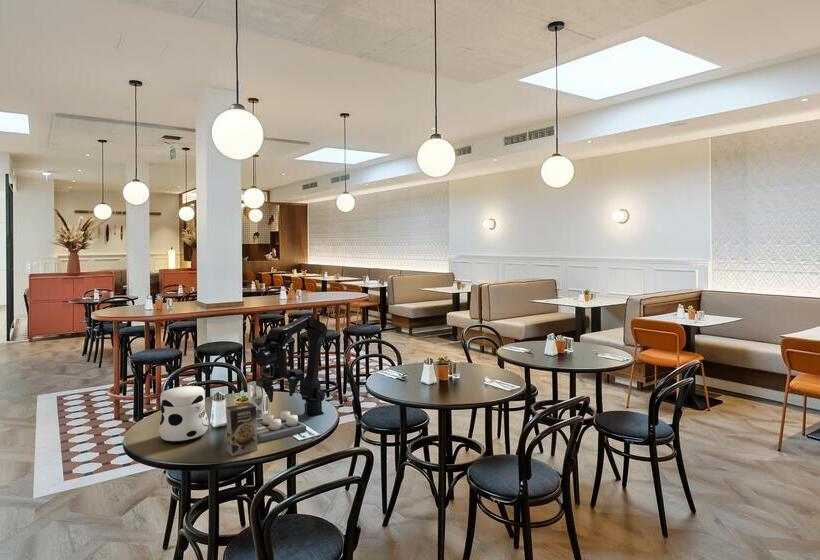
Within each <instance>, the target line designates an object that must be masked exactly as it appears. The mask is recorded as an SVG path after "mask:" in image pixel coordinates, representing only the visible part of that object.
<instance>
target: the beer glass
mask: <svg viewBox="0 0 820 560" xmlns="http://www.w3.org/2000/svg"><path fill="white" fill-rule="evenodd" d="M265 395H266V392H265V390H264V389H263V388H261V387H259V386H256V380H253V381H250V382H247V399H248V403H251V404H253V405H255V406H256V420H257V421H259V420H263V417H262V416H263V415H265V412H264V406H265V405H264V403H265Z"/></svg>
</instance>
